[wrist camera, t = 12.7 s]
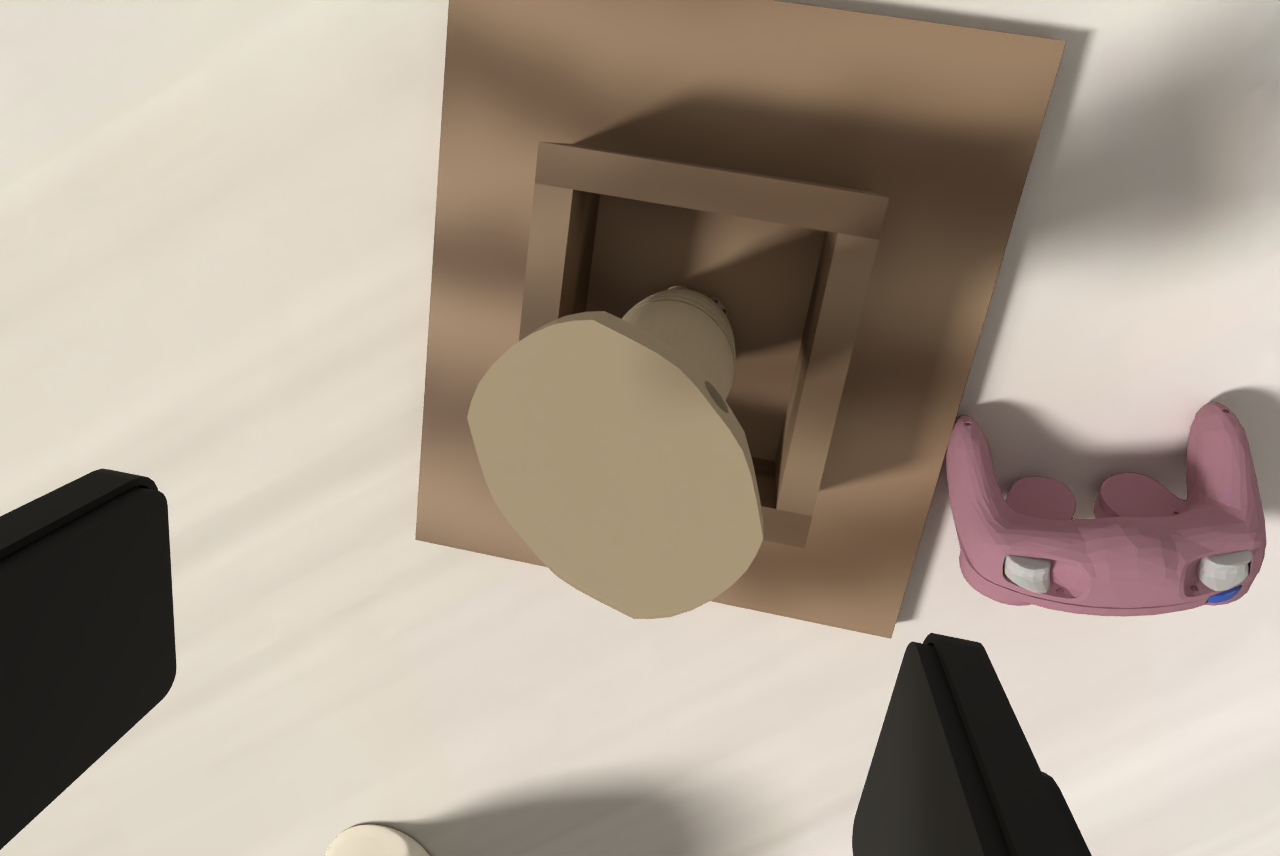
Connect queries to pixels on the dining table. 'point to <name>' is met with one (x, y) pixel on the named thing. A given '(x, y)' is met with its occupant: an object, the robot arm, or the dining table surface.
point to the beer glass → (374, 842)
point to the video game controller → (1112, 529)
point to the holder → (738, 246)
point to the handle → (625, 453)
